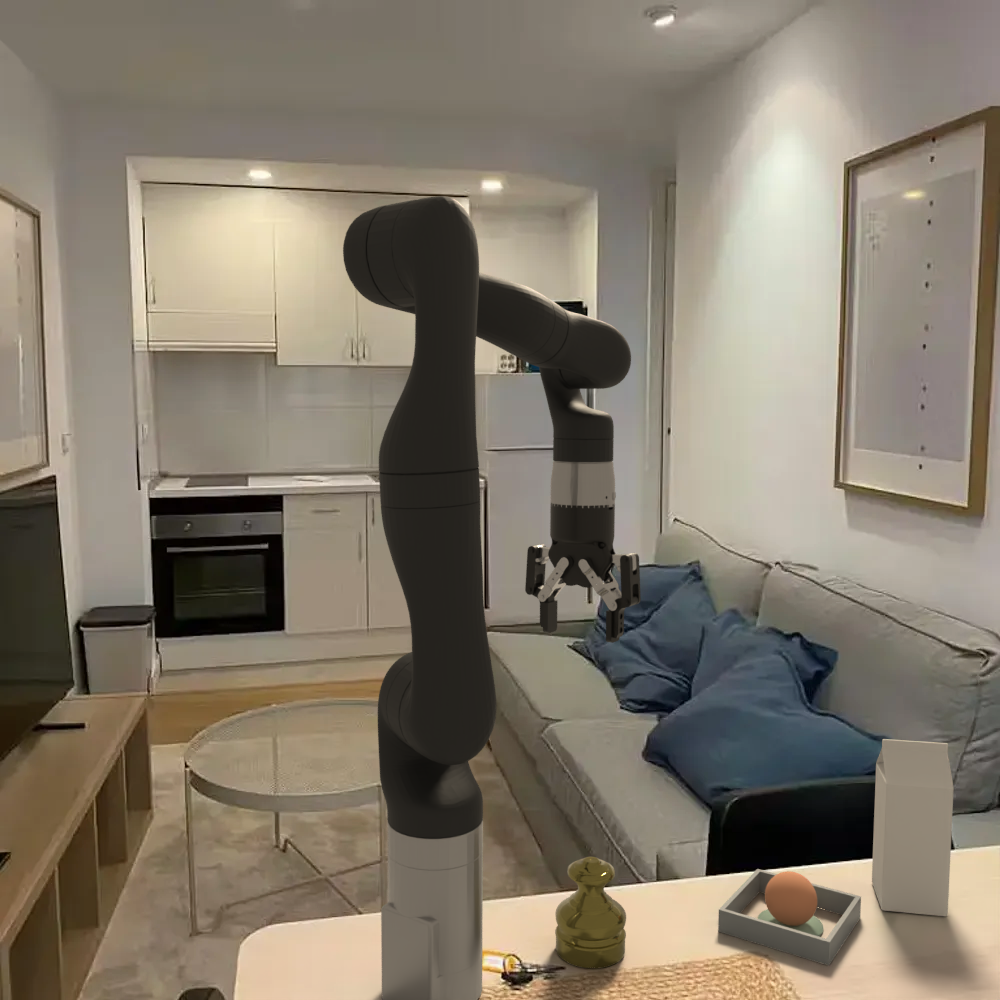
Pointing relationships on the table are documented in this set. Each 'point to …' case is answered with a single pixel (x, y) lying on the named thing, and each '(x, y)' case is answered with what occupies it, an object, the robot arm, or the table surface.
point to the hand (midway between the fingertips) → (580, 636)
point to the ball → (791, 898)
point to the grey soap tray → (787, 937)
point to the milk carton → (912, 827)
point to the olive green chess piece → (590, 918)
